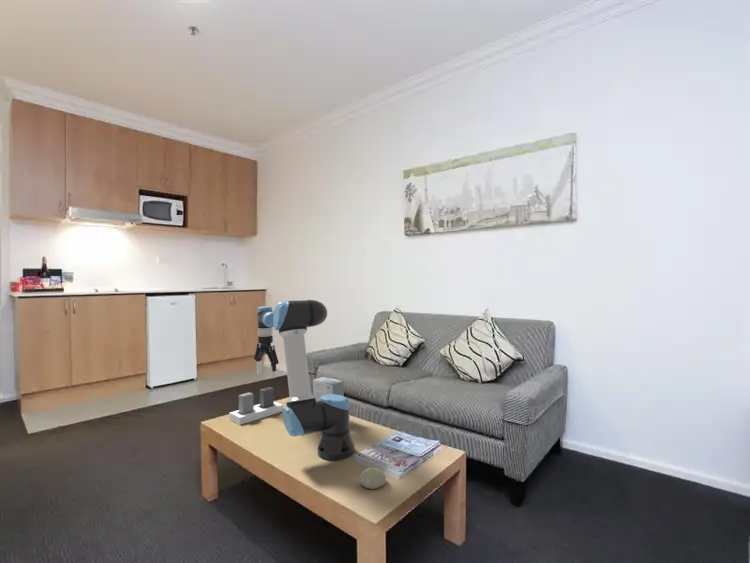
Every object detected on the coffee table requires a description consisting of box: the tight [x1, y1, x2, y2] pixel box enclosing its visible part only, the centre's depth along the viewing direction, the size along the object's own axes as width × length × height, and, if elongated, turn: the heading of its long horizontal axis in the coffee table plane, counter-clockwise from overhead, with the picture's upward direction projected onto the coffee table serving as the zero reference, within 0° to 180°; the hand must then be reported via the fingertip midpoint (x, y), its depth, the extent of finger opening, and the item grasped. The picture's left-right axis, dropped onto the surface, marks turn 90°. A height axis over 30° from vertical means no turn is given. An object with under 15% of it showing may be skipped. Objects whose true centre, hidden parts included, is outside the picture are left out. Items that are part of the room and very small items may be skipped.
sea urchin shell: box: [359, 467, 386, 490], centre depth 139 cm, size 9×8×8 cm
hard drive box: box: [312, 376, 345, 401], centre depth 199 cm, size 16×8×20 cm, turn 49°
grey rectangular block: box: [259, 386, 275, 409], centre depth 211 cm, size 4×6×12 cm, turn 137°
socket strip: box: [228, 392, 284, 426], centre depth 207 cm, size 11×25×12 cm, turn 137°
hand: (266, 375), depth 211 cm, fingers open, 13 cm apart
